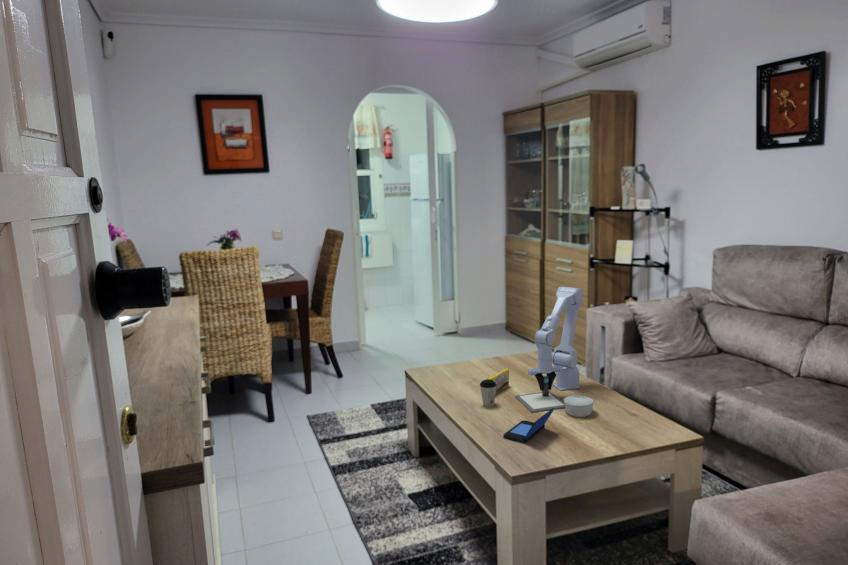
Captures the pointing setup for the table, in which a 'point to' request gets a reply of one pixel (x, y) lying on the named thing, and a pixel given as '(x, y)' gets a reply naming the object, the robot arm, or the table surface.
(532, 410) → the sketch board
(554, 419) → the table surface
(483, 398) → the coffee cup
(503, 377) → the candy box
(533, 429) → the handheld game console
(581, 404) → the ramekin
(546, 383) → the marker
